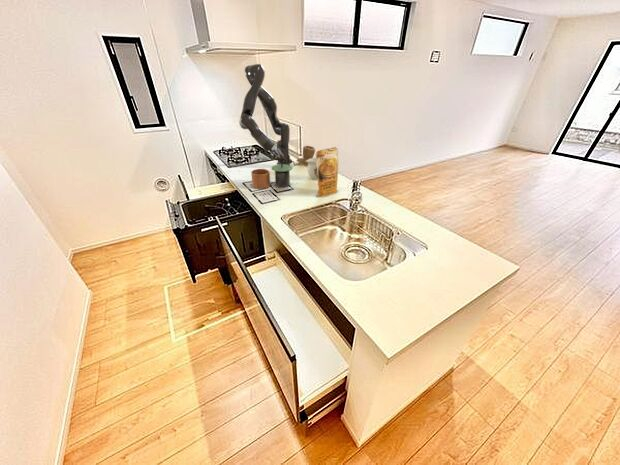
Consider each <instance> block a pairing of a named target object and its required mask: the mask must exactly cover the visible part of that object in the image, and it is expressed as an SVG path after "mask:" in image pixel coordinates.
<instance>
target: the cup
mask: <svg viewBox="0 0 620 465" xmlns="http://www.w3.org/2000/svg"><path fill="white" fill-rule="evenodd" d="M290 171H291V170H290ZM290 171H286V172H278V171H274V181H275V182H274V183H275V186H276V187H277V188H288V187H289V186H290V185H291V174H290Z"/></svg>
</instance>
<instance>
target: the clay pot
mask: <svg viewBox="0 0 620 465" xmlns="http://www.w3.org/2000/svg"><path fill="white" fill-rule="evenodd" d="M270 173H271V172H270V170H269V169H266V168H257V169H253V170H251V172H250V174H251V183H252V187H253V188H255V189H260V190H262V189H268V188H269V187H271V174H270Z"/></svg>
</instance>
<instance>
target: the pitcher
mask: <svg viewBox="0 0 620 465" xmlns="http://www.w3.org/2000/svg"><path fill="white" fill-rule="evenodd" d="M306 162H308V166H307V174H308V176H309V178H310V179H311V180H315V181H318V173H317V162H316V157H313V158H311V159H308V160H306Z"/></svg>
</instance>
